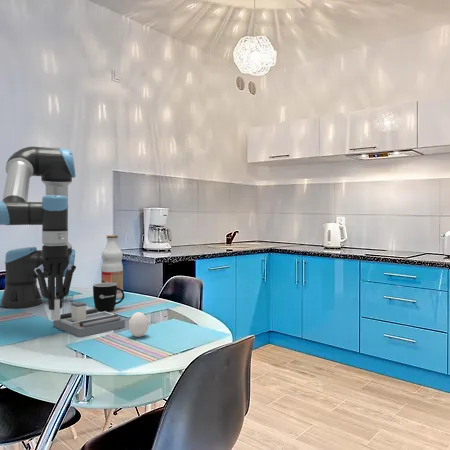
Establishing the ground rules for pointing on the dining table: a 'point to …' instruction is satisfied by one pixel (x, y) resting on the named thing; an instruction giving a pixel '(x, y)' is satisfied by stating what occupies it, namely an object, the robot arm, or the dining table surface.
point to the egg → (138, 324)
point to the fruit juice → (112, 264)
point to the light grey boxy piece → (78, 311)
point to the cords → (93, 321)
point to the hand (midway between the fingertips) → (55, 319)
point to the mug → (106, 296)
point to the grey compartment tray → (90, 330)
